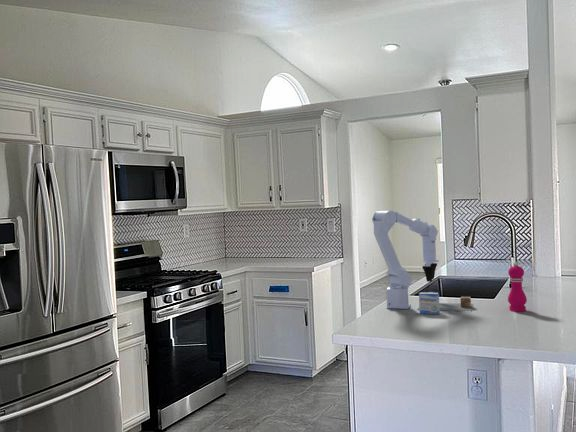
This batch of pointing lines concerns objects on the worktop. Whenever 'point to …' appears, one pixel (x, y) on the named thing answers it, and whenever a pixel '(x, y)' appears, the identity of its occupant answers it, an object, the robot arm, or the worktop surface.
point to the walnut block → (465, 302)
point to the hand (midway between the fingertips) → (430, 280)
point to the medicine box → (429, 303)
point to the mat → (452, 307)
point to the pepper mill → (516, 289)
